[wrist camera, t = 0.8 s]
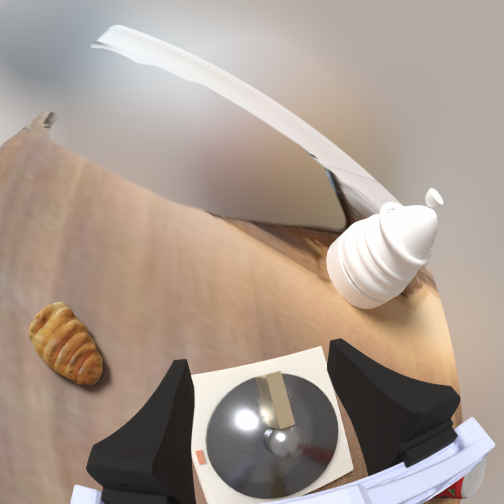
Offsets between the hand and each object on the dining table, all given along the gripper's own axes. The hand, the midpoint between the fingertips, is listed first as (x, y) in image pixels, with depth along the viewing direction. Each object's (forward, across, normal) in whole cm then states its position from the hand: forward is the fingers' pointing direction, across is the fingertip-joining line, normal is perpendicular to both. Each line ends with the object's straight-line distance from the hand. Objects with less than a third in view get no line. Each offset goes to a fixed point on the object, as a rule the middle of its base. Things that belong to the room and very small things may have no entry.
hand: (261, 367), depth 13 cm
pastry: (+12, +20, +6) cm, 24 cm away
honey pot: (+26, -20, +8) cm, 34 cm away
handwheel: (+6, -2, +17) cm, 18 cm away
